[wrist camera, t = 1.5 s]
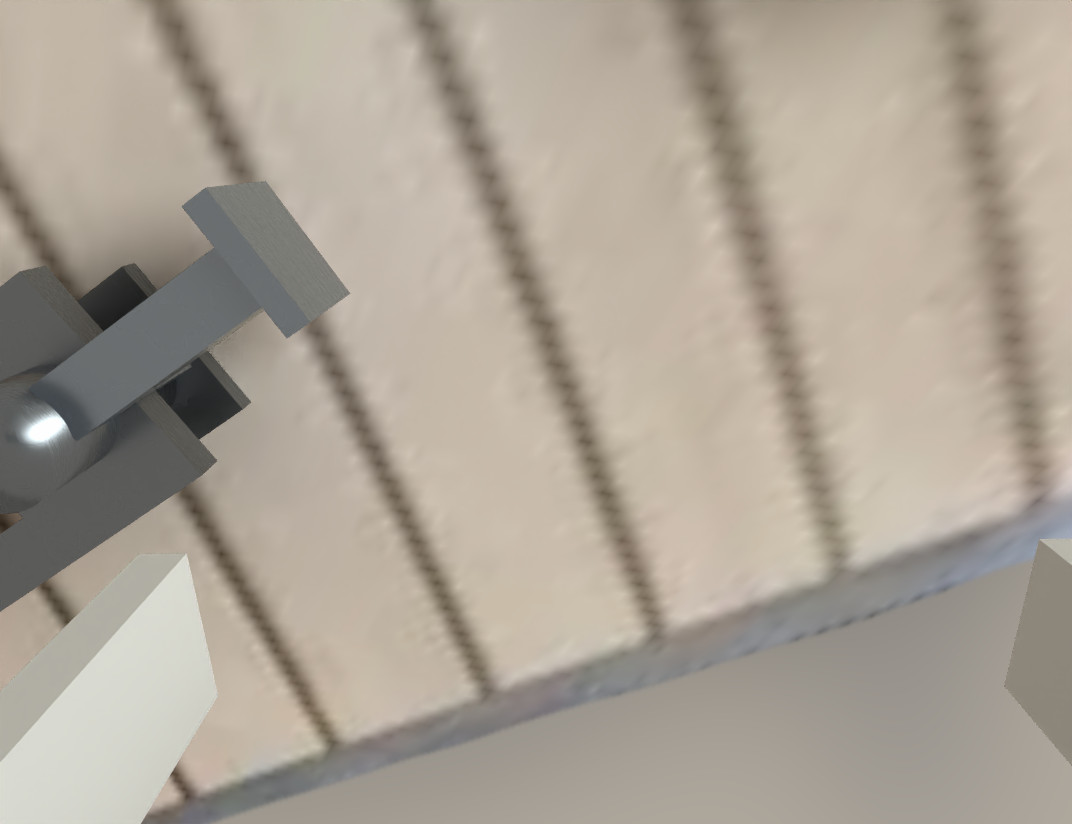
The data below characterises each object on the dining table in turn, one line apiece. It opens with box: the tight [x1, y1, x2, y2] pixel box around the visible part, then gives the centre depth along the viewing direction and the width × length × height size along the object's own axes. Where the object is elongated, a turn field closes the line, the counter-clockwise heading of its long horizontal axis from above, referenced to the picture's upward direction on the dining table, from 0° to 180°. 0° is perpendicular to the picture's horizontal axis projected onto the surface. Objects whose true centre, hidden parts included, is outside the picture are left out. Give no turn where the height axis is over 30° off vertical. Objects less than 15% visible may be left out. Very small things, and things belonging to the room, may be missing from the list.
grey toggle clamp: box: [0, 181, 350, 611], centre depth 30 cm, size 10×23×10 cm, turn 124°
